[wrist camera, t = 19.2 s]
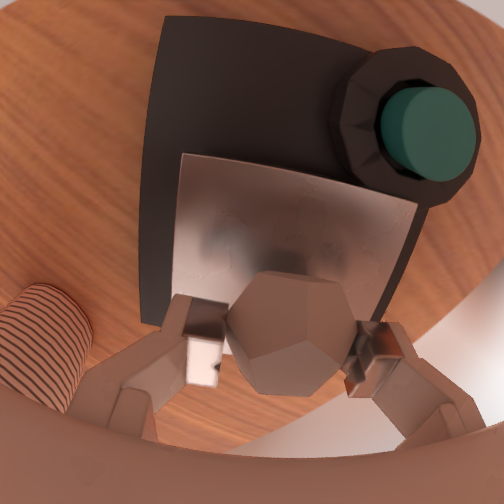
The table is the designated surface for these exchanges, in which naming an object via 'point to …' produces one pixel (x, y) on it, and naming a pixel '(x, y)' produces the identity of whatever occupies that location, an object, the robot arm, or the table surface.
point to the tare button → (429, 132)
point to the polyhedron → (290, 332)
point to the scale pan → (282, 230)
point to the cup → (43, 345)
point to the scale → (277, 123)
